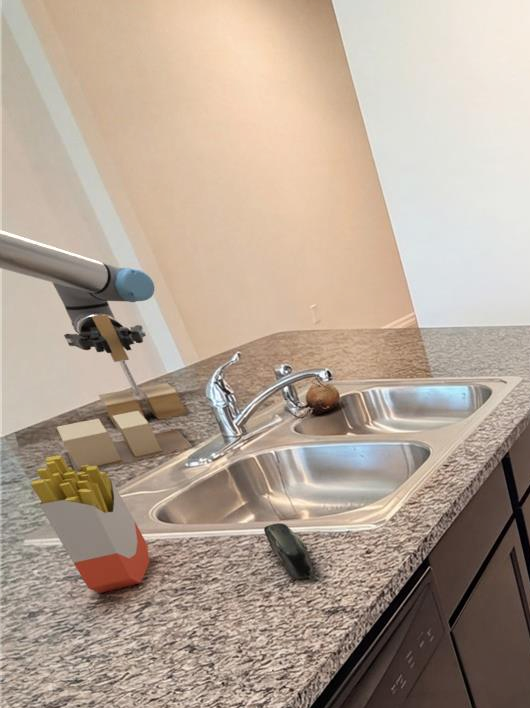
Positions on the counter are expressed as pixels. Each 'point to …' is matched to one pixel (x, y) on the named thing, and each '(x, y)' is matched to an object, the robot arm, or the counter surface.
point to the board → (167, 444)
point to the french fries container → (92, 525)
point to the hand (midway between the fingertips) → (116, 345)
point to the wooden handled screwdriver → (115, 347)
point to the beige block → (88, 443)
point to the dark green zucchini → (290, 551)
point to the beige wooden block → (137, 433)
